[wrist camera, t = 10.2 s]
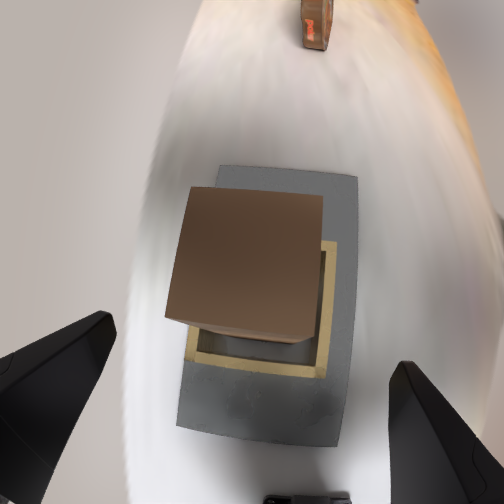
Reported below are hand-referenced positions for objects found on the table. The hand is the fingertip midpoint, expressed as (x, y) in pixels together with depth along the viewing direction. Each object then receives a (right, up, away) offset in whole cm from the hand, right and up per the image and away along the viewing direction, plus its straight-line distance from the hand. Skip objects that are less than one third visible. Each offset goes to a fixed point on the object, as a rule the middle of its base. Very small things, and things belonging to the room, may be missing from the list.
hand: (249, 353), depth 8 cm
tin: (+9, +31, +23) cm, 40 cm away
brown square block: (+1, -1, +12) cm, 12 cm away
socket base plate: (+2, 0, +13) cm, 13 cm away
